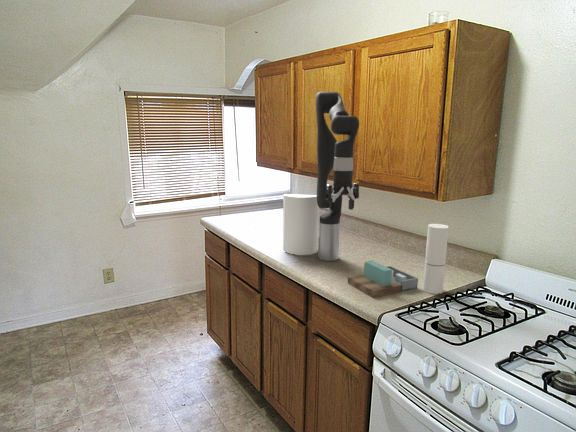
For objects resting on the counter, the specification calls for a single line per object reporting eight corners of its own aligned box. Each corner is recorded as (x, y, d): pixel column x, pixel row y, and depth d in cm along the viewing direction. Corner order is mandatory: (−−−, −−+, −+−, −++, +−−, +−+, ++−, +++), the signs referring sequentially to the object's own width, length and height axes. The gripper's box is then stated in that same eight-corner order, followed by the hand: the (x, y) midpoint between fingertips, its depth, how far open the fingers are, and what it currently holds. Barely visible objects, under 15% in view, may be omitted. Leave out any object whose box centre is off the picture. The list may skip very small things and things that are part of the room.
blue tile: (395, 274, 161) (399, 273, 161) (394, 283, 161) (398, 283, 162) (402, 277, 157) (406, 276, 158) (401, 287, 158) (405, 286, 159)
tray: (374, 277, 169) (375, 268, 168) (389, 274, 173) (390, 265, 172) (401, 291, 155) (402, 281, 154) (417, 288, 159) (418, 278, 158)
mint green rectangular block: (363, 276, 164) (364, 261, 163) (370, 274, 165) (371, 260, 164) (383, 286, 153) (384, 270, 152) (390, 284, 155) (391, 269, 154)
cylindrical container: (438, 286, 160) (444, 223, 155) (445, 293, 153) (452, 228, 148) (420, 286, 160) (425, 223, 155) (426, 293, 153) (432, 228, 148)
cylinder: (315, 256, 197) (316, 198, 191) (279, 253, 200) (280, 196, 194) (319, 246, 213) (321, 192, 207) (287, 244, 216) (287, 191, 211)
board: (347, 282, 163) (347, 276, 163) (374, 277, 169) (374, 272, 168) (373, 297, 149) (373, 291, 149) (400, 291, 155) (401, 285, 154)
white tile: (383, 268, 167) (386, 267, 168) (382, 277, 168) (386, 277, 169) (389, 271, 163) (393, 270, 164) (388, 281, 164) (392, 280, 165)
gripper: (352, 167, 166) (351, 207, 169) (322, 168, 159) (321, 210, 163) (364, 169, 159) (362, 210, 162) (332, 170, 153) (331, 213, 156)
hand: (341, 210), depth 163 cm, fingers open, 8 cm apart
